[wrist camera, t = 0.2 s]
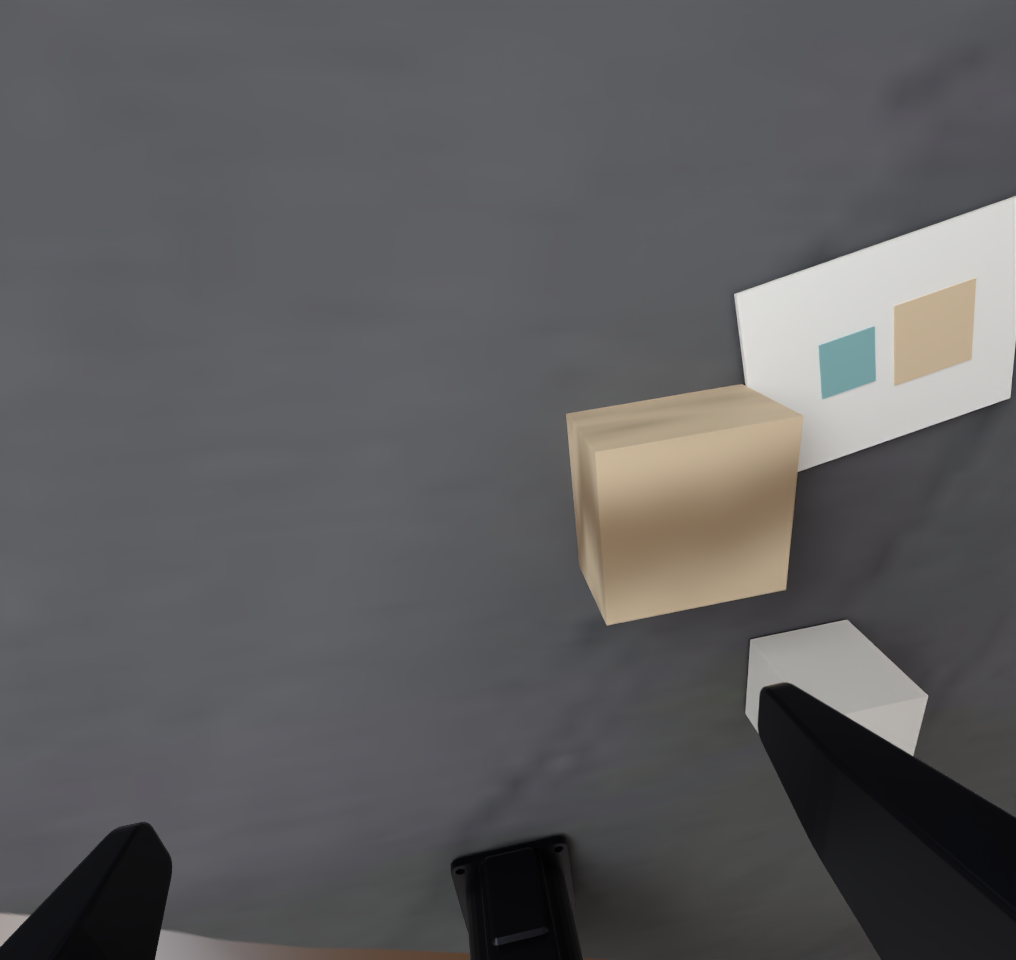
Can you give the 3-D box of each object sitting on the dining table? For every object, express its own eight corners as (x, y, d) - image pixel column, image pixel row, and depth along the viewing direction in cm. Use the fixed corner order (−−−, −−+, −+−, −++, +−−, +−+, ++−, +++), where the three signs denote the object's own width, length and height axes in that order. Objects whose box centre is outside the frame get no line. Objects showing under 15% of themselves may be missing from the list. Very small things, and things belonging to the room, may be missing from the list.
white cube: (835, 694, 30) (907, 777, 26) (745, 713, 30) (802, 801, 26) (847, 619, 28) (928, 695, 24) (750, 639, 28) (814, 720, 23)
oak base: (733, 536, 25) (785, 589, 22) (579, 566, 25) (606, 625, 21) (741, 383, 22) (803, 415, 19) (565, 413, 22) (595, 452, 18)
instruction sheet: (1006, 397, 24) (1011, 398, 24) (758, 483, 24) (760, 485, 24) (1025, 192, 20) (1031, 192, 20) (734, 294, 21) (736, 295, 20)
